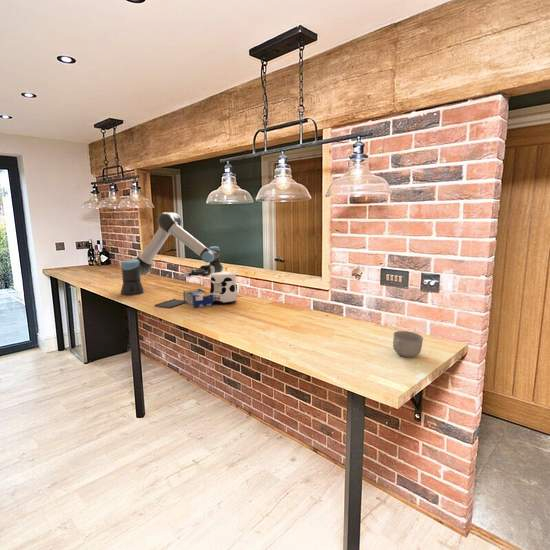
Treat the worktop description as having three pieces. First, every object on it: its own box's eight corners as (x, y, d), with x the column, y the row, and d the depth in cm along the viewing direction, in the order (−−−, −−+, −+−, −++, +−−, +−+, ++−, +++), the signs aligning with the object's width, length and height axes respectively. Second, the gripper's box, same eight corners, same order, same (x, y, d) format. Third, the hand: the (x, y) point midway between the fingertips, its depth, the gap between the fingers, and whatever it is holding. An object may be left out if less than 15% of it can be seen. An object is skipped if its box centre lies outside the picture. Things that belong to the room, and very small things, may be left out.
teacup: (405, 347, 149) (407, 329, 148) (428, 356, 140) (429, 336, 138) (380, 354, 143) (381, 334, 141) (402, 363, 133) (403, 342, 132)
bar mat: (154, 306, 219) (154, 304, 219) (174, 300, 235) (174, 298, 235) (170, 308, 214) (170, 306, 214) (189, 301, 230) (189, 300, 230)
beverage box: (183, 290, 232) (195, 296, 213) (199, 288, 238) (212, 294, 219) (183, 301, 233) (195, 308, 215) (200, 298, 239) (212, 305, 220)
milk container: (233, 298, 240) (233, 271, 237) (240, 304, 224) (239, 275, 221) (207, 300, 234) (206, 272, 232) (212, 306, 218) (211, 276, 215)
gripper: (214, 276, 251) (192, 281, 230) (199, 274, 256) (176, 280, 235) (214, 265, 249) (192, 270, 228) (199, 264, 255) (175, 268, 234)
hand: (184, 275), depth 232 cm, fingers closed
